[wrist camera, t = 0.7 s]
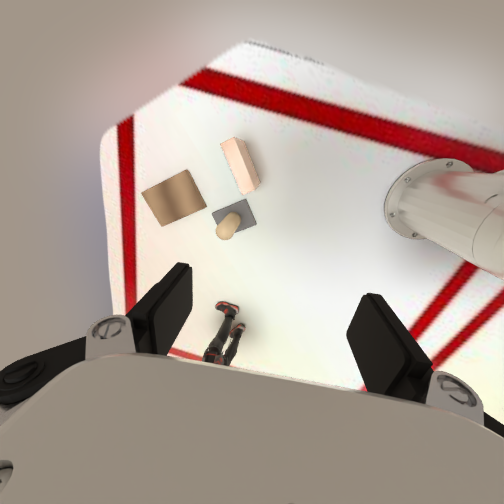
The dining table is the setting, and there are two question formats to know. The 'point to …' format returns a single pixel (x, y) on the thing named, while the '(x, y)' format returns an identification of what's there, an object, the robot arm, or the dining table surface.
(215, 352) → the action figure
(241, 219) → the float
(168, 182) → the board
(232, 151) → the tile
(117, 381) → the robot arm
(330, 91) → the dining table surface
